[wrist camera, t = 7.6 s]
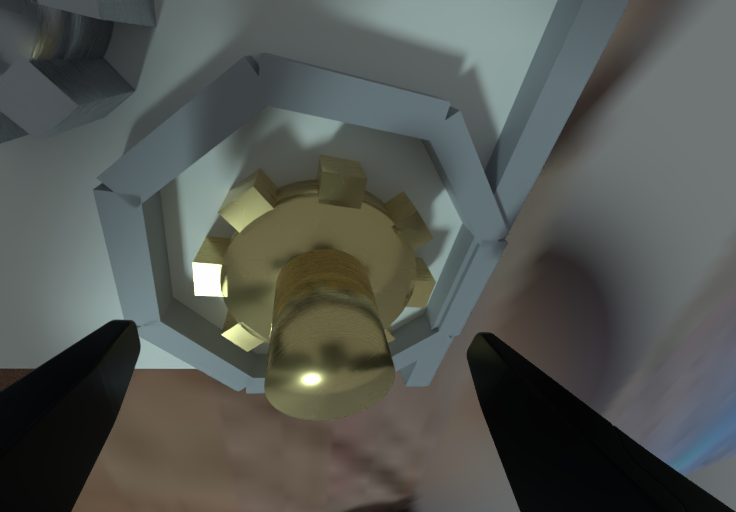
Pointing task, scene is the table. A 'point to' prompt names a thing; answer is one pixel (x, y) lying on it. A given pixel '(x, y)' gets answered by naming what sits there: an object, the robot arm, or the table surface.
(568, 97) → the carrier
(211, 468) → the table surface
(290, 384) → the planet gear
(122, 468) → the table surface
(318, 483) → the table surface
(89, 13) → the sun gear
